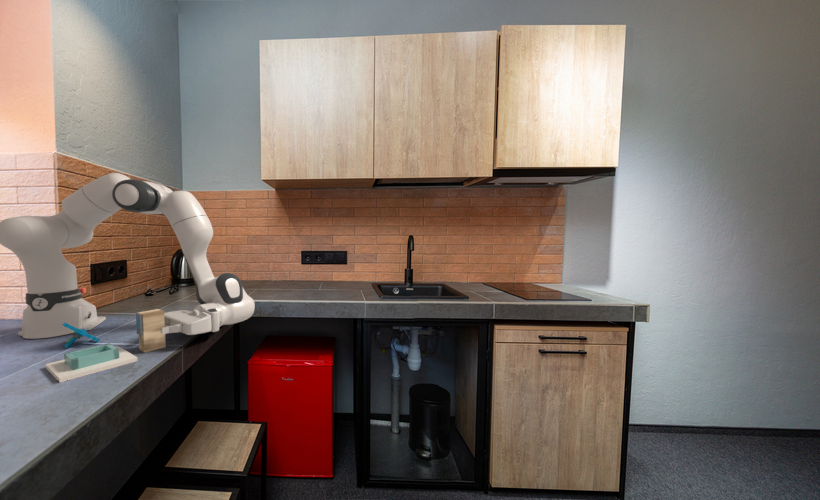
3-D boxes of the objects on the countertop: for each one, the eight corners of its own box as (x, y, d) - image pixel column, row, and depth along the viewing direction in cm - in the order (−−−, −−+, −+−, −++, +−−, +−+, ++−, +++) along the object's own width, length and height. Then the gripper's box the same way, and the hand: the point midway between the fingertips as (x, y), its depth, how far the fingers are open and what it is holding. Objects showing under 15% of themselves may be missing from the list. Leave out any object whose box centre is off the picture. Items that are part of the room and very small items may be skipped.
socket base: (45, 367, 78) (44, 354, 78) (119, 349, 90) (118, 338, 90) (59, 382, 71) (58, 367, 71) (137, 360, 83) (136, 348, 83)
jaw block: (137, 350, 90) (135, 313, 89) (160, 344, 95) (158, 308, 94) (142, 353, 88) (140, 315, 87) (165, 347, 93) (164, 310, 92)
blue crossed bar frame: (104, 339, 94) (68, 321, 89) (86, 357, 91) (46, 340, 85) (99, 336, 101) (65, 319, 96) (81, 353, 98) (45, 336, 92)
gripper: (190, 303, 109) (140, 312, 97) (220, 312, 98) (168, 323, 86) (190, 321, 109) (141, 332, 97) (221, 332, 98) (169, 345, 87)
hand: (154, 328), depth 92 cm, fingers open, 8 cm apart
